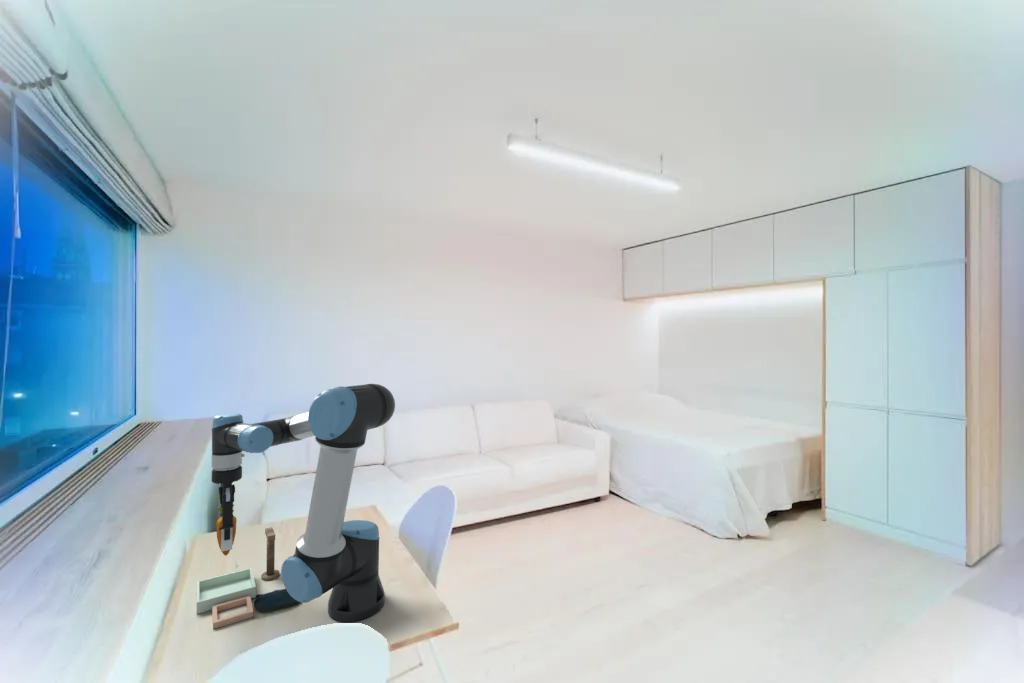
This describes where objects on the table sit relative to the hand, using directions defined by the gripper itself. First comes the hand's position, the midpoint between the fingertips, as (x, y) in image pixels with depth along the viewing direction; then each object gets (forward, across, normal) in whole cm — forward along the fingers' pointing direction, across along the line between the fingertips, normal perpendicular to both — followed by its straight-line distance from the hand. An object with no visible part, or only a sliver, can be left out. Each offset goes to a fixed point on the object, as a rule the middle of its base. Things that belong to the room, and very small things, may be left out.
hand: (226, 546), depth 130 cm
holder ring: (+14, -12, -1) cm, 19 cm away
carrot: (+3, 0, 0) cm, 3 cm away
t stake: (+14, +5, -12) cm, 19 cm away
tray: (+14, 0, 0) cm, 14 cm away
